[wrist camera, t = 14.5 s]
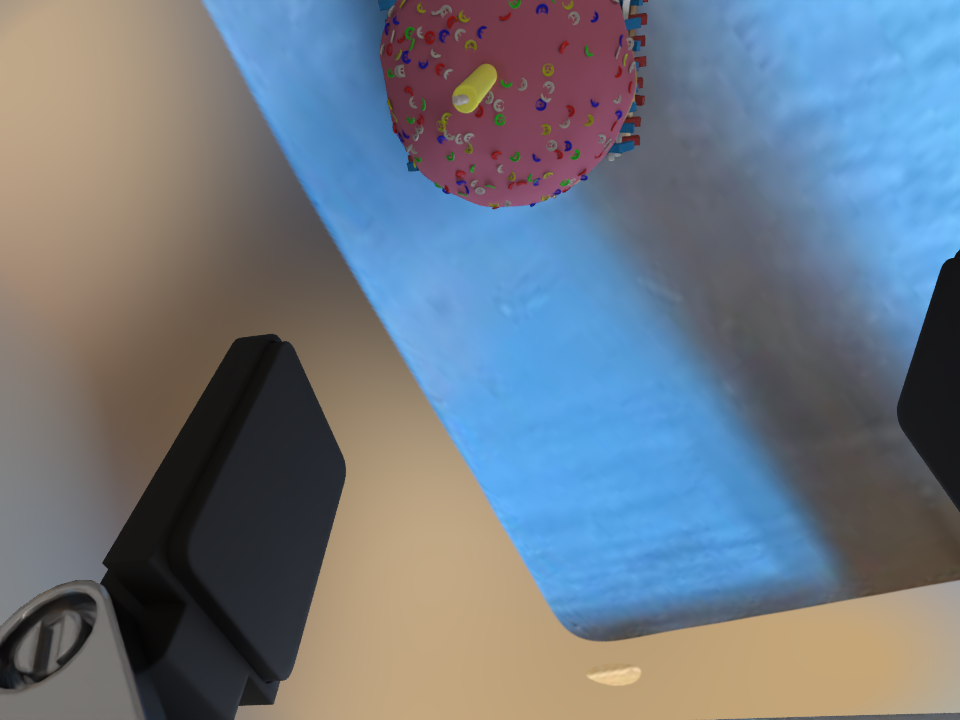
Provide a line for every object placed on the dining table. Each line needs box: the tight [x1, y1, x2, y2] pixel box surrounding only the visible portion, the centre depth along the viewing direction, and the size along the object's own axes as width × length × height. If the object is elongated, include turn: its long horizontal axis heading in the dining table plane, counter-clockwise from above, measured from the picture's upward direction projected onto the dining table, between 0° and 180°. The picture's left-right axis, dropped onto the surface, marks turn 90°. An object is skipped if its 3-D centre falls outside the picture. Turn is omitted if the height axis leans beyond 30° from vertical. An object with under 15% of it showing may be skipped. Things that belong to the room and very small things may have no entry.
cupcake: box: [380, 0, 637, 209], centre depth 20 cm, size 9×8×12 cm
